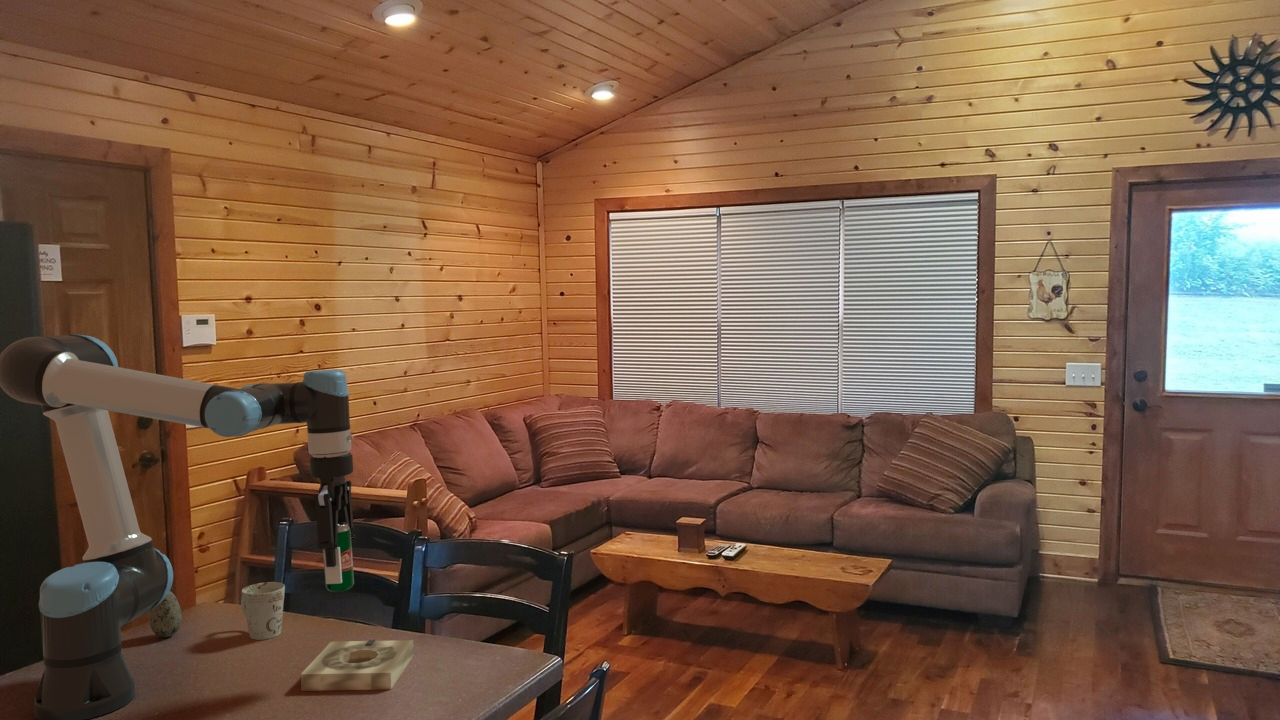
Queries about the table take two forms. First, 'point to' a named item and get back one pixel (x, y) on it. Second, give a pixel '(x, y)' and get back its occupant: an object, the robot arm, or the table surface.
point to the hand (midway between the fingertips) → (339, 578)
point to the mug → (263, 609)
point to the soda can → (343, 560)
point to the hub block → (358, 665)
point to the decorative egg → (166, 616)
